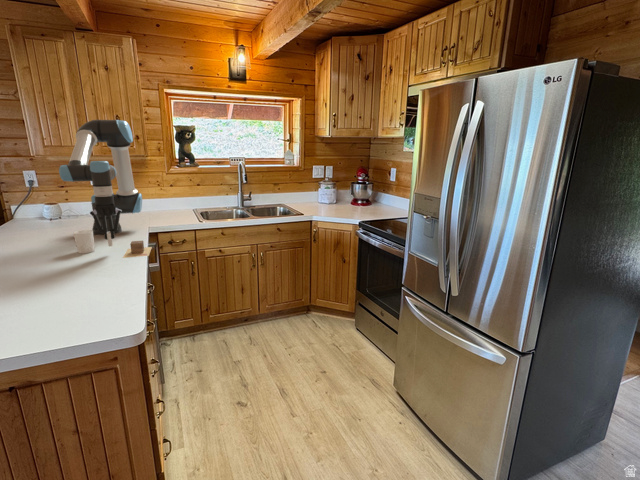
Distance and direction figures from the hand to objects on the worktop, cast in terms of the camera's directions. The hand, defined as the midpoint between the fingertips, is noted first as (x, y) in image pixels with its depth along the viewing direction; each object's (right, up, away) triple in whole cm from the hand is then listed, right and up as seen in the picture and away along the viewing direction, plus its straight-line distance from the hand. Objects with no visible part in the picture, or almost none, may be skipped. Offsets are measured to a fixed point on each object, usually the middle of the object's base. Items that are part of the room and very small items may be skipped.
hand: (111, 245), depth 170 cm
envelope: (+10, -4, +5) cm, 12 cm away
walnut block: (+10, -3, +5) cm, 12 cm away
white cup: (-16, -3, +7) cm, 17 cm away
